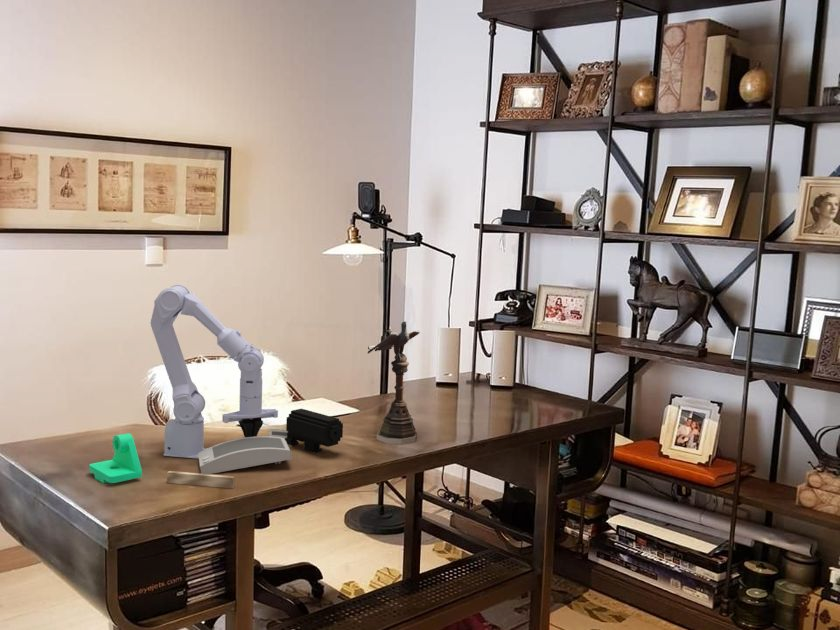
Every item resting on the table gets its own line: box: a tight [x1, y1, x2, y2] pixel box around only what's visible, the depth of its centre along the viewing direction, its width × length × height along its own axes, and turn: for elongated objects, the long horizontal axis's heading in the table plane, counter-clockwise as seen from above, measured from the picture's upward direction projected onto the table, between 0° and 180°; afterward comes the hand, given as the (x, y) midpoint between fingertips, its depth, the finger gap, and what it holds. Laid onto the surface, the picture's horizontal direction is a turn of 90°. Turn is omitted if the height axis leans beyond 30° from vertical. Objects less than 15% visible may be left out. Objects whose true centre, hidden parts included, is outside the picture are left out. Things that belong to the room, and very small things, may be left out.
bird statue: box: [367, 321, 421, 446], centre depth 242 cm, size 17×13×35 cm
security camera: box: [285, 408, 344, 454], centre depth 228 cm, size 7×18×10 cm, turn 51°
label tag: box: [268, 427, 288, 443], centre depth 235 cm, size 6×1×4 cm, turn 83°
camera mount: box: [88, 432, 143, 484], centre depth 200 cm, size 12×8×10 cm, turn 45°
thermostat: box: [198, 435, 293, 475], centre depth 213 cm, size 11×22×6 cm, turn 107°
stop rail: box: [166, 470, 236, 489], centre depth 197 cm, size 16×1×2 cm, turn 82°
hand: (250, 446), depth 221 cm, fingers closed
